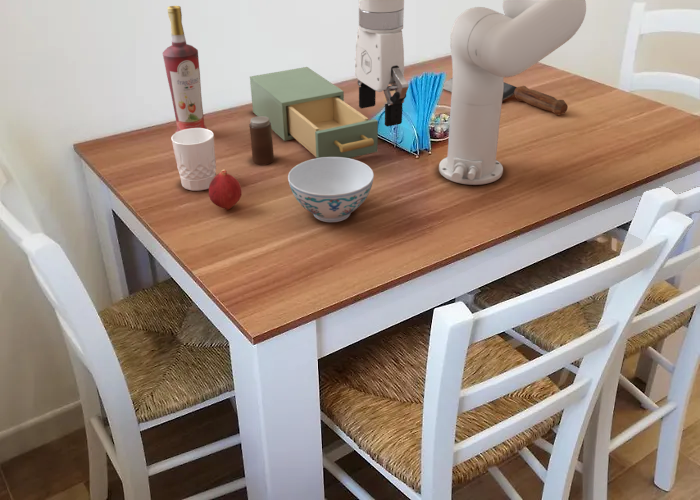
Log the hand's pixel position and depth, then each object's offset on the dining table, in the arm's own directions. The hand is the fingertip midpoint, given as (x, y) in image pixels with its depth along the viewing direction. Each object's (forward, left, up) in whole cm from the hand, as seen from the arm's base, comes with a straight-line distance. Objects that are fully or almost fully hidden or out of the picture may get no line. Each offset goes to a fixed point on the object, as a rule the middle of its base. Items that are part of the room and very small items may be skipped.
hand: (379, 115), depth 128 cm
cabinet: (+29, +28, -15) cm, 43 cm away
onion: (-15, +25, -15) cm, 33 cm away
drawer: (+15, +14, -14) cm, 25 cm away
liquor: (+14, +48, -15) cm, 52 cm away
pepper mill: (+6, +27, -15) cm, 31 cm away
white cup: (-7, +35, -15) cm, 39 cm away
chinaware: (-11, +6, -15) cm, 20 cm away
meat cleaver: (+55, -15, -15) cm, 59 cm away
